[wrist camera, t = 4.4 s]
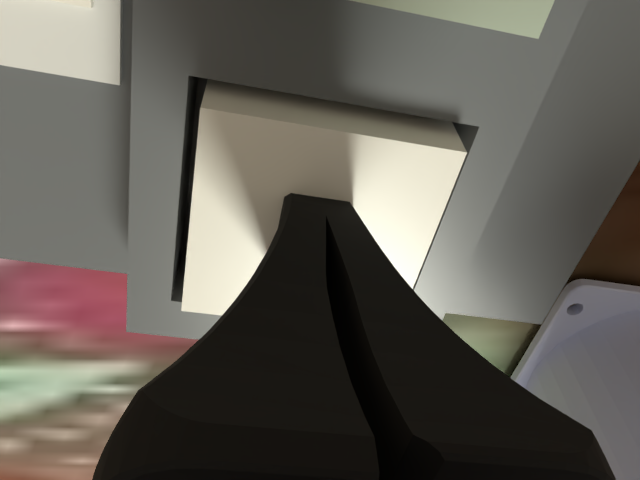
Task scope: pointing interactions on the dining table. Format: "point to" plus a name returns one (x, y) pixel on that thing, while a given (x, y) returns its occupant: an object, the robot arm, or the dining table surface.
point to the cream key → (308, 180)
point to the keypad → (324, 83)
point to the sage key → (480, 13)
